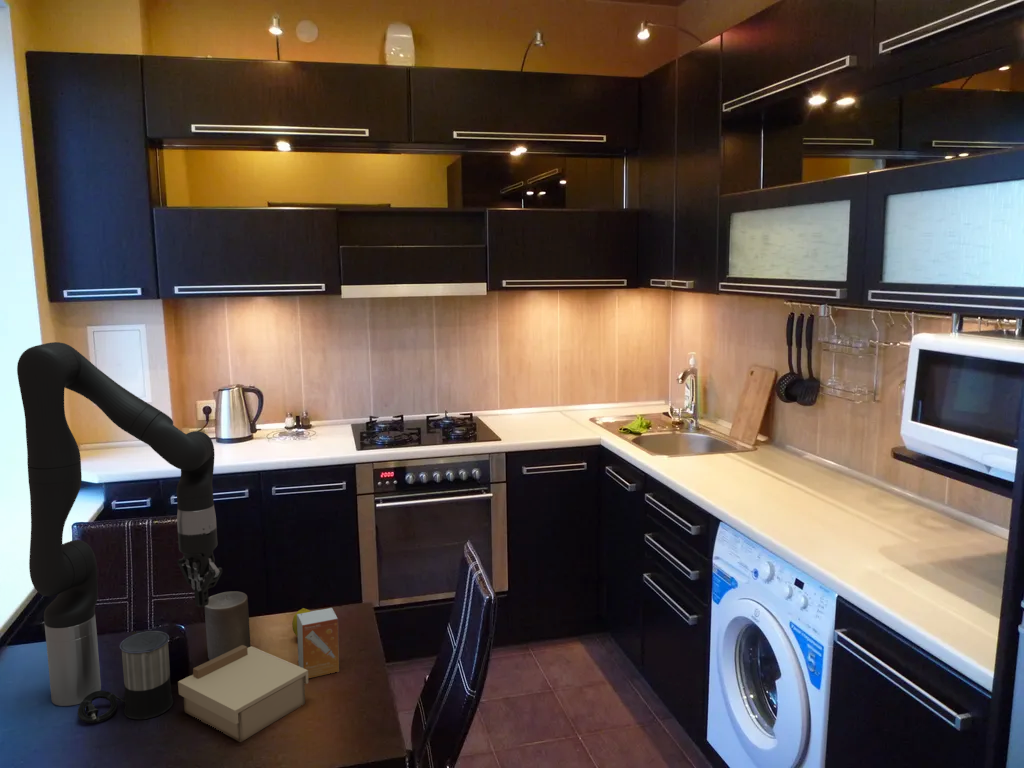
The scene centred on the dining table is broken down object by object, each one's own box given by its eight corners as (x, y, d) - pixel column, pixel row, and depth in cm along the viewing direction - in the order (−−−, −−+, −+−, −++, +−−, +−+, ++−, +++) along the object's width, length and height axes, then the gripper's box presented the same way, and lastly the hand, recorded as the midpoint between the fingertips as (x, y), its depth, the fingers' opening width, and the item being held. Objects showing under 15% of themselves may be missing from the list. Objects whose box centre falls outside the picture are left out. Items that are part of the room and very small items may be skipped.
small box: (303, 680, 167) (301, 625, 165) (298, 667, 173) (296, 613, 171) (340, 672, 171) (338, 617, 169) (333, 659, 176) (331, 606, 175)
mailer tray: (184, 712, 155) (182, 685, 154) (250, 677, 168) (248, 652, 167) (240, 742, 145) (238, 713, 144) (305, 703, 158) (304, 676, 158)
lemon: (310, 631, 190) (309, 601, 189) (319, 640, 186) (318, 609, 185) (289, 638, 186) (287, 607, 185) (298, 647, 182) (297, 615, 181)
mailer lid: (178, 694, 154) (177, 673, 153) (252, 657, 168) (251, 638, 168) (235, 724, 144) (234, 701, 143) (308, 682, 158) (307, 662, 158)
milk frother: (182, 704, 158) (178, 638, 156) (107, 743, 145) (101, 670, 143) (145, 683, 166) (140, 620, 164) (70, 718, 153) (64, 649, 151)
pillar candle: (258, 645, 183) (255, 586, 181) (238, 666, 173) (234, 604, 171) (221, 643, 184) (217, 584, 182) (198, 663, 175) (194, 601, 172)
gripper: (162, 526, 159) (167, 604, 162) (200, 538, 152) (205, 619, 154) (194, 517, 165) (199, 592, 168) (232, 528, 158) (236, 606, 160)
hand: (202, 605), depth 161 cm, fingers closed
